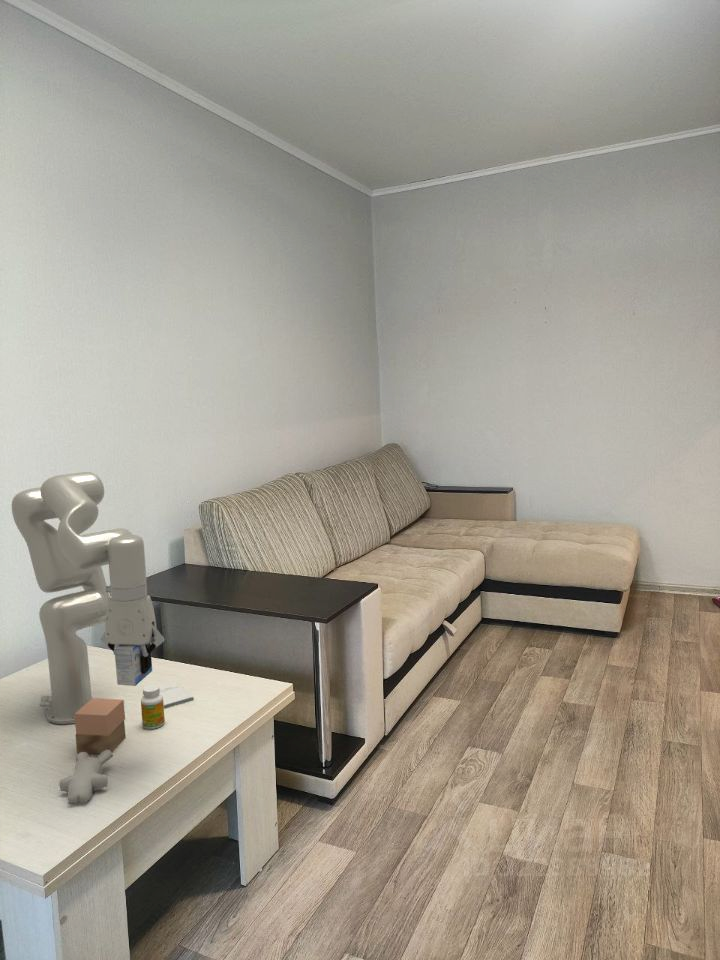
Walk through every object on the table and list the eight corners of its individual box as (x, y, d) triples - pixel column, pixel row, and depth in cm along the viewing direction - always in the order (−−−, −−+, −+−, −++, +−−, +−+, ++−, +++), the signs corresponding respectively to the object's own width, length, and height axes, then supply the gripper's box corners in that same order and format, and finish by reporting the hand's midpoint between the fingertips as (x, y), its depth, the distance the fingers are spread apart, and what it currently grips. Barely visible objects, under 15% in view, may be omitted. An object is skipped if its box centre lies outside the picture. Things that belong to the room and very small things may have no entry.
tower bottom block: (77, 754, 161) (75, 734, 160) (94, 737, 169) (92, 717, 168) (109, 756, 160) (107, 735, 159) (125, 738, 168) (124, 719, 167)
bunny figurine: (52, 791, 140) (72, 745, 154) (55, 812, 141) (74, 764, 155) (100, 786, 141) (116, 741, 155) (103, 807, 142) (118, 760, 157)
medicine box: (135, 686, 150) (132, 648, 149) (116, 685, 151) (113, 647, 149) (153, 671, 158) (150, 635, 156) (135, 670, 158) (132, 634, 157)
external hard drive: (164, 710, 182) (149, 694, 193) (194, 702, 187) (178, 686, 197) (163, 705, 182) (149, 688, 192) (193, 696, 187) (178, 680, 197)
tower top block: (76, 734, 161) (74, 713, 160) (94, 717, 168) (92, 698, 168) (108, 735, 159) (106, 715, 159) (125, 719, 167) (123, 699, 166)
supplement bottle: (144, 731, 171) (142, 694, 169) (140, 722, 175) (138, 686, 174) (167, 726, 173) (164, 689, 172) (162, 717, 178) (159, 681, 176)
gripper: (83, 596, 149) (90, 676, 151) (158, 598, 146) (164, 679, 149) (101, 585, 156) (107, 662, 159) (172, 587, 154) (177, 665, 156)
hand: (134, 669), depth 154 cm, fingers closed on medicine box, 4 cm apart
